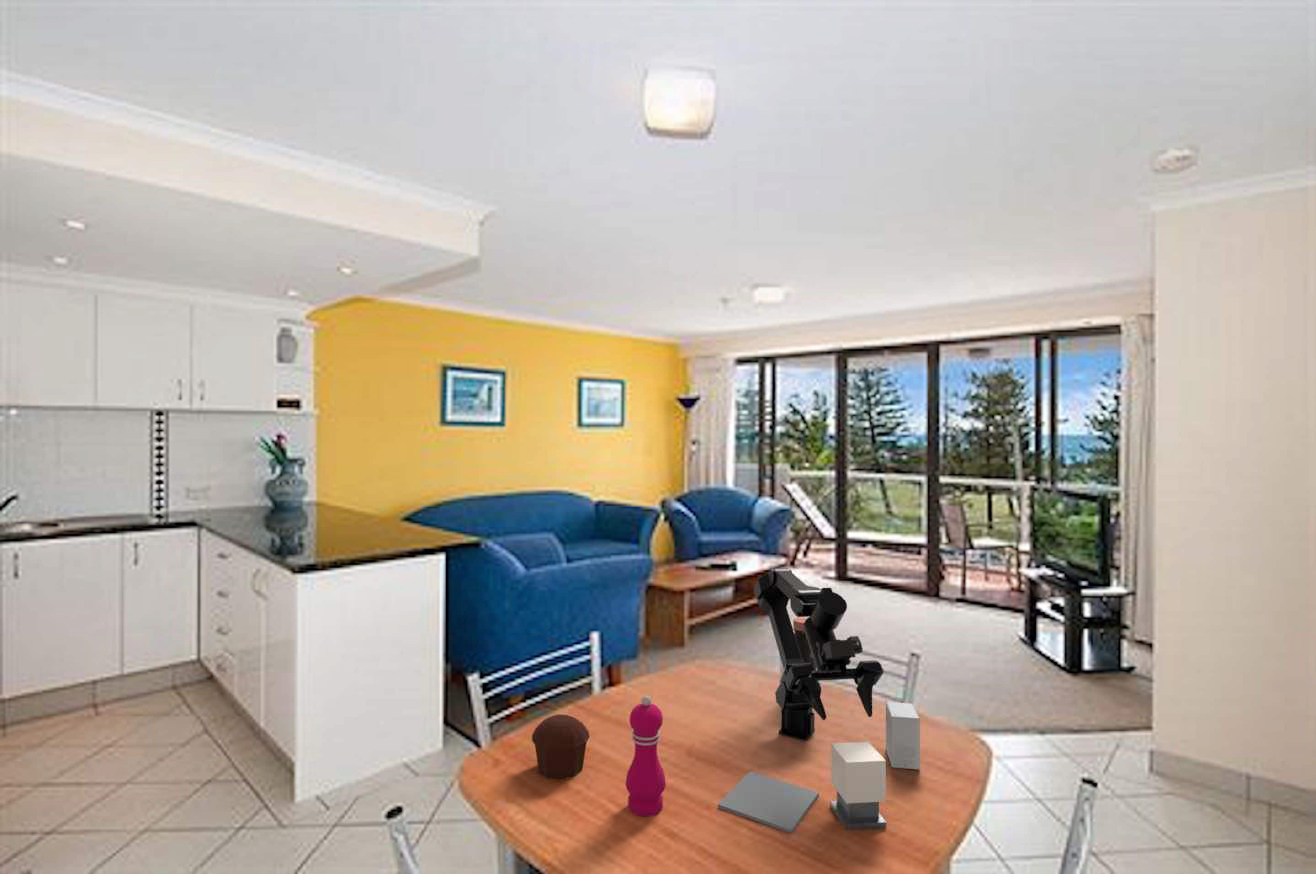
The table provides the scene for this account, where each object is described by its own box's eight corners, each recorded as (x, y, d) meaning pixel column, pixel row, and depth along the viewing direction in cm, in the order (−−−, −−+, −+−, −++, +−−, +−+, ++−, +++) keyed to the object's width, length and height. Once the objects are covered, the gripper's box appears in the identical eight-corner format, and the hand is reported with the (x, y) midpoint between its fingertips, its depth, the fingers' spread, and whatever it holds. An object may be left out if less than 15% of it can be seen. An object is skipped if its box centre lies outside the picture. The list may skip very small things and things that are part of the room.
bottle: (795, 703, 164) (796, 624, 164) (785, 693, 171) (785, 617, 171) (820, 701, 165) (820, 623, 165) (809, 691, 172) (809, 616, 172)
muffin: (600, 763, 133) (600, 714, 133) (568, 788, 123) (568, 736, 123) (553, 750, 139) (554, 703, 139) (519, 773, 129) (519, 722, 129)
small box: (920, 771, 131) (920, 718, 131) (890, 768, 132) (891, 716, 132) (912, 752, 139) (913, 703, 139) (885, 749, 140) (885, 700, 140)
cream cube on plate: (831, 782, 118) (831, 743, 118) (867, 780, 119) (868, 741, 119) (846, 803, 111) (846, 762, 111) (885, 801, 112) (885, 760, 112)
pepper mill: (624, 796, 121) (625, 688, 121) (663, 795, 121) (664, 688, 121) (626, 819, 113) (627, 704, 114) (667, 817, 114) (668, 703, 114)
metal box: (830, 806, 118) (830, 762, 118) (868, 804, 119) (868, 760, 119) (845, 830, 111) (846, 783, 111) (886, 828, 111) (886, 781, 112)
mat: (717, 807, 117) (717, 804, 117) (750, 774, 129) (750, 771, 129) (791, 833, 110) (791, 829, 110) (818, 795, 122) (818, 792, 122)
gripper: (789, 623, 127) (812, 700, 116) (878, 619, 130) (909, 694, 119) (776, 653, 134) (796, 728, 123) (860, 649, 137) (888, 722, 126)
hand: (847, 717), depth 122 cm, fingers open, 9 cm apart
